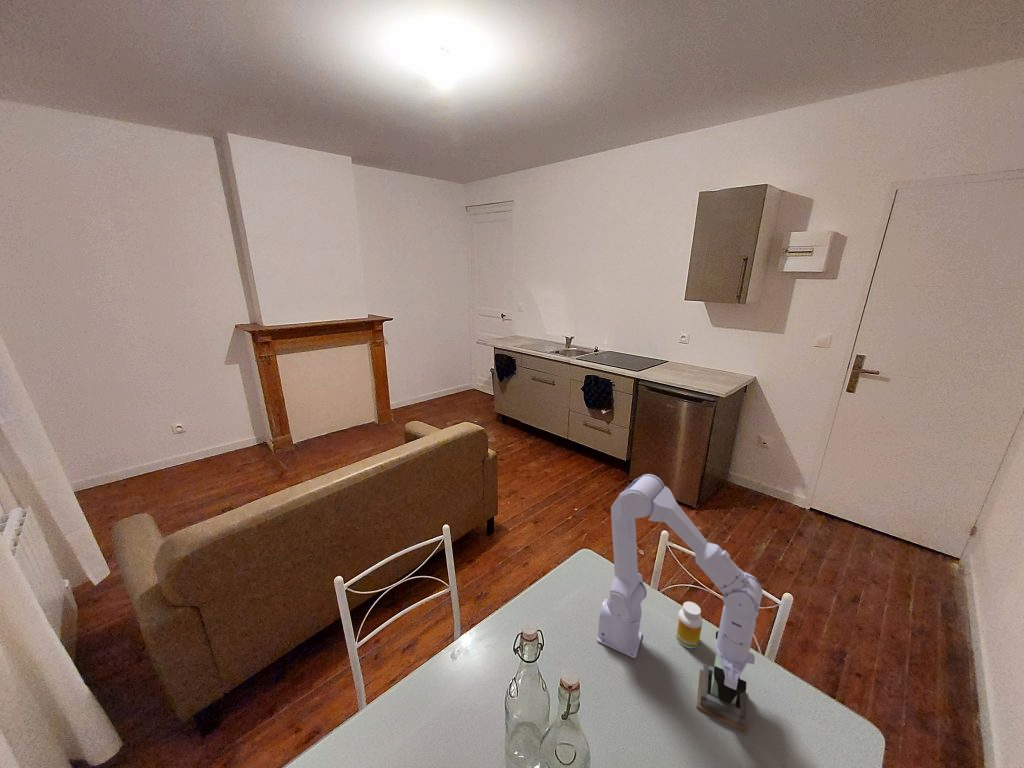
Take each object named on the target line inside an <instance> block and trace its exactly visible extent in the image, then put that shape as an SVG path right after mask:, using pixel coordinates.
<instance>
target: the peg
mask: <svg viewBox="0 0 1024 768" xmlns="http://www.w3.org/2000/svg"><path fill="white" fill-rule="evenodd" d="M714 666H716V667H719V668H721V669H723V668H722V665H721V663H720V660H719V657H718V655H717V654H716V655H715V659H714V665H713V667H714ZM739 679H741V676H740V677H739ZM710 695H711V696H713V697H715V698H717V699H719V697H718V685H717V682H716V680H715V678H714V669H713V674H712V679H711V687H710ZM736 699H737V696H736V697H735V698H734V700H733V701H732V702H731V703H730V705H732V706H734V707H735V703H736ZM719 700H720V699H719ZM721 701H722V700H721Z"/></svg>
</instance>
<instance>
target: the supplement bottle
mask: <svg viewBox="0 0 1024 768" xmlns="http://www.w3.org/2000/svg"><path fill="white" fill-rule="evenodd" d="M701 613H702V610H701V608H700V606H699V605H698V604H697V603H695V602H693V601H685V602H683V604H682V608H681V609H679V610H678V614H677V622H676V627H675V638H676V640H677V642H678V643H679V644H680V645H681V646H683V647H684V648H687V649H695V648H697V647H699V643H700V638H701V632H702V627H703V618H702V616H701Z"/></svg>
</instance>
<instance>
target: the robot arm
mask: <svg viewBox="0 0 1024 768" xmlns="http://www.w3.org/2000/svg"><path fill="white" fill-rule="evenodd" d="M647 516H649V518H648V521H649V522H657V523H658V522H659V523H660V522H662V523H665V524H666V525H667V526H668V527H669V528H670V529H671V530H673V532H674V533H675V534H676V535H677V536H678V537H679V538H680V539H681V540H682V541H683V542H684V543H685V544H686V545H687V546H688V547H689V548H690V549H691V551H693V552H694V554H695V555H694V556H695V564H696V565H698V566H699V568H700V569H701V570H702V571H703V573H704V574H705V575H706V576H707V577H708V578H709V580H710V581H711V582H712V583H713V584H714V585H715V586H716V588H717V589H718V590H719V591H720V592H721V593H722V594H723V596H722V601H723V602H722V603H723V604H724V605H723V607H722V611H721V618H720V622H719V628H718V631H717V630H716V632H715V643H714V647H715V648H714V649H715V651H716V655H718V657H719V660H720V663H721V665H722V668H723V669H721V668H719V667H716V666H714V665H713V668H714V678H715V680H716V682H717V685H718V697H719V699H720V700H722V701H724V702H726V703H728V704H730V703H731V702H732V701H733V700H734V698H735V697H736V696H737V695H738V694H740V693H743V692H745V691H746V692H747V681H745V680H744V679H741V675H742V673H743V671H744V670H745V668H746V667H747V665H748V664H750V665H754V664H755V662H756V656H755V654H753V653H752V652H750V650H751V646H752V641H753V637H754V633H755V629H756V625H757V624H756V623H757V618H758V616H759V615H760V614H759V613H760V612H759V610H760V606H761V601H762V598H763V587H762V584H761V583H760V582H759V581H758V578H757V577H755V576H754V575H752V574H750V573H747V572H746V571H743V570H742V569H741V568H739V566H737V564H736V562H735V561H733V560H732V558H730V557H731V555H730V553H729V552H728V551H727V550H724V549H723V548H721V547H720V545H718V544H717V543H713V542H709V541H707V539H706V538H705V536H704V535H703V534H702V533H701V532H700V530H699V529H698V527H696V526H695V524H694V522H692V520H691V519H690V517H688V515H687V514H686V513H685V511H684V510H683V509H682V508H681V506H680V505H679V504H678V502H677V501H676V499H675V496H674V495H673V493H672V491H671V489H670V488H669V487H668V486H666V485H665V484H664V482H663V480H662V479H661V478H660V477H658V476H657V475H655V474H651V473H645V474H643V475H641V476H639V477H637V478H635V479H633V481H632V482H631V483H630V484H629V485H628V486H626V488H624V490H622V491H621V492H620V493H619V495H618V497H617V498H616V499H615V501H614V502H613V503H612V505H611V506H610V518H611V519H610V521H611V534H612V547H613V548H612V551H613V566H614V567H613V568H614V577H613V581H612V583H611V586H610V589H609V597H608V598H604V600H603V602H602V605H601V609H600V613H599V619H598V628H597V629H598V630H597V637H596V641H597V642H598V643H600V644H602V645H605V646H606V647H609V648H611V649H613V650H615V651H617V652H620V653H622V654H624V655H626V656H628V657H630V658H633V659H636V658H637V655H638V651H639V647H640V643H641V641H642V636H643V631H641V630H640V628H641V619H642V605H641V604H642V602H643V600H644V599H646V598H647V596H648V595H647V594H648V592H647V588H646V585H645V584H644V580H643V575H642V574H641V573H639V569H638V564H639V563H638V549H637V548H638V546H637V530H636V529H637V528H636V519H641V518H646V517H647ZM739 677H740V679H739Z"/></svg>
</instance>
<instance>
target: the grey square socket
mask: <svg viewBox="0 0 1024 768" xmlns="http://www.w3.org/2000/svg"><path fill="white" fill-rule="evenodd" d="M713 669H714V666H711V665H709V664H707V663H704V664H703V669H700V670H699V679H698V687H697V699H696V709H697V710H698V711H701V712H703V713H705V714H707V715H708V716H711V717H714V718H715V719H718V721H719V720H720V721H721V722H723V723H726V724H728V725H729V726H732V727H733V728H736V729H737V730H740V731H741V732H744V733H747V731H748V721H747V718H748V717H747V690H746V691H745V692H743V693H740V694H738V695H737V699H736V703H735V707H734V706H732V705H730V704H728V703H726V702H724V701H721V700H719V699H717V698H715V697H713V696H711V695H710V687H711V679H712V674H713Z"/></svg>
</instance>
